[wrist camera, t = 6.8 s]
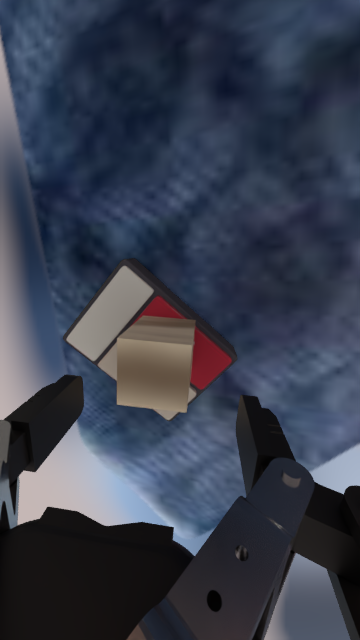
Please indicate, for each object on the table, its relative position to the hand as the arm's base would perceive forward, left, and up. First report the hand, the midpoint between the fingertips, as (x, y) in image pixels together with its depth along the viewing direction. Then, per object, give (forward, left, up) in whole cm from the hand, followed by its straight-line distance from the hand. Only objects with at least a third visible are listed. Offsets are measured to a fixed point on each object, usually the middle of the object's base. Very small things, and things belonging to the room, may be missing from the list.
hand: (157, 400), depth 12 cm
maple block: (+1, -1, -11) cm, 11 cm away
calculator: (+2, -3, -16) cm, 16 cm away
